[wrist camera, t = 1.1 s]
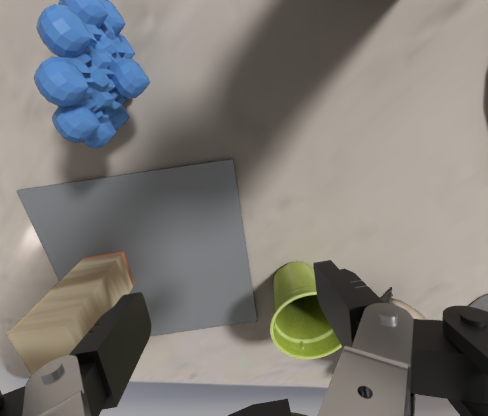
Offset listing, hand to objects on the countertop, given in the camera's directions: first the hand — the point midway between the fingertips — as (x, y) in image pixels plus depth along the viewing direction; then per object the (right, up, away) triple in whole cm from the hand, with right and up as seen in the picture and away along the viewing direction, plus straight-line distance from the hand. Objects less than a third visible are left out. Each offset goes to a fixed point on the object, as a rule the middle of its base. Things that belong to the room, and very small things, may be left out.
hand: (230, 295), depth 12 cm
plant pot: (+8, -6, +24) cm, 26 cm away
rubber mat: (-11, -3, +22) cm, 25 cm away
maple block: (-17, -4, +21) cm, 27 cm away
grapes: (-11, +17, +15) cm, 25 cm away
